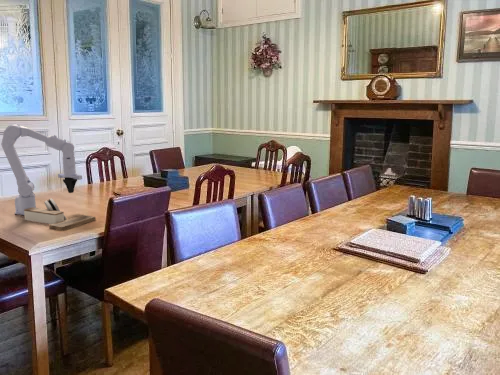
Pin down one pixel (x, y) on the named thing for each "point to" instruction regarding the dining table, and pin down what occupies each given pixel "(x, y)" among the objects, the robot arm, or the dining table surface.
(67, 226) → the door leaf
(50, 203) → the hinge
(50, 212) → the cabinet
